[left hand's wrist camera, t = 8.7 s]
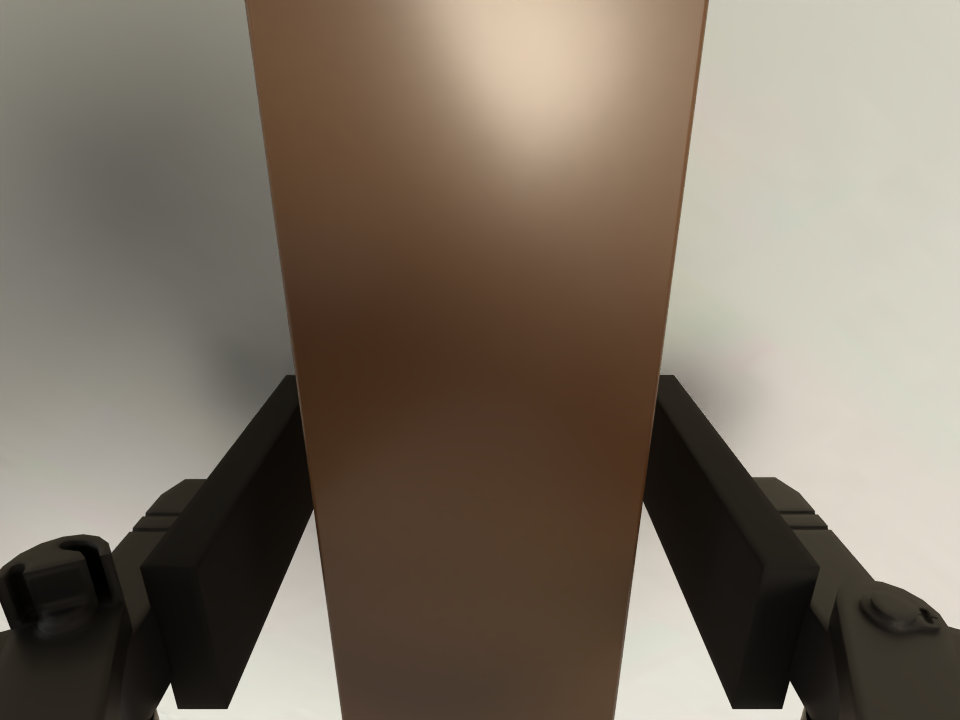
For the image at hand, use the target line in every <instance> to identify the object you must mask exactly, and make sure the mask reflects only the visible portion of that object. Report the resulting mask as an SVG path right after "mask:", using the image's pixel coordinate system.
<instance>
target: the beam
mask: <svg viewBox="0 0 960 720" xmlns="http://www.w3.org/2000/svg"><path fill="white" fill-rule="evenodd" d="M708 3H709V0H245V6H246V13H247V20H248V28H249V35H250V42H251V50H252V57H253V65H254V72H255V79H256V87H257V94H258V101H259V109H260V116H261V124H262V131H263V138H264V146H265V153H266V160H267V168H268V175H269V183H270V190H271V197H272V205H273V212H274V219H275V227H276V234H277V242H278V249H279V256H280V264H281V271H282V278H283V286H284V293H285V301H286V308H287V315H288V323H289V330H290V337H291V345H292V352H293V360H294V367H295V374H296V382H297V389H298V396H299V404H300V411H301V419H302V426H303V433H304V441H305V448H306V455H307V463H308V470H309V478H310V485H311V492H312V500H313V507H314V514H315V522H316V529H317V537H318V544H319V551H320V559H321V566H322V573H323V581H324V588H325V596H326V603H327V610H328V618H329V625H330V632H331V640H332V647H333V655H334V662H335V669H336V677H337V684H338V691H339V699H340V706H341V714H342V720H614V716H615V709H616V701H617V693H618V686H619V678H620V671H621V663H622V656H623V648H624V640H625V633H626V625H627V618H628V610H629V602H630V595H631V587H632V580H633V572H634V565H635V557H636V549H637V542H638V534H639V527H640V519H641V512H642V504H643V496H644V489H645V481H646V474H647V466H648V458H649V451H650V443H651V436H652V428H653V421H654V413H655V405H656V398H657V390H658V383H659V375H660V367H661V360H662V352H663V345H664V337H665V330H666V322H667V314H668V307H669V299H670V292H671V284H672V276H673V269H674V261H675V254H676V246H677V239H678V231H679V223H680V216H681V208H682V201H683V193H684V185H685V178H686V170H687V163H688V155H689V148H690V140H691V132H692V125H693V117H694V110H695V102H696V94H697V87H698V79H699V72H700V64H701V57H702V49H703V41H704V34H705V26H706V19H707V11H708Z"/></svg>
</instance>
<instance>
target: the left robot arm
mask: <svg viewBox="0 0 960 720" xmlns="http://www.w3.org/2000/svg"><path fill="white" fill-rule="evenodd" d="M643 502H644V504H645V507H646V509H647V511H648V514H649V516H650V518H651V521H652V523H653V525H654V528H655V530H656V532H657V534H658V537H659V539H660V541H661V544H662V546H663V548H664V551H665V553H666V555H667V558H668V560H669V562H670V565H671V567H672V569H673V572H674V574H675V576H676V579H677V581H678V583H679V586H680V588H681V590H682V593H683V595H684V597H685V600H686V602H687V604H688V607H689V609H690V611H691V613H692V616H693V618H694V620H695V623H696V625H697V627H698V630H699V632H700V634H701V637H702V639H703V641H704V644H705V646H706V648H707V651H708V653H709V655H710V658H711V660H712V662H713V665H714V667H715V669H716V672H717V674H718V676H719V679H720V681H721V683H722V686H723V688H724V690H725V692H726V695H727V697H728V699H729V702H730V704H731V706H732V709H782V708H783V704H784V700H785V696H786V693H787V689H788V685H789V682H791V683H792V685H793V687H794V689H795V691H796V692H797V694H798V696H799V698H800V700H801V701H802V703H803V705H804V710H803V713H802V716H801V720H960V630H959V629H955V628H952V627H948V626H947V624H946V623H945V621H944V620H943V618H942V617H941V615H940V614H939V613H938V612H937V611H935V610H934V609H933V608H932V607H931V606H929V605H928V604H927V603H926V602H925V601H923V600H922V599H920V598H918V597H916V596H915V595H913V594H911V593H909V592H907V591H906V590H904V589H901V588H898V587H895V586H892V585H890V584H887V583H884V582H879V581H875V580H874V579H873V578H872V577H871V576H870V575H869V573H868V572H867V571H866V570H865V569H864V568H863V566H862V565H861V564H860V563H859V562H858V561H857V559H856V558H855V557H854V556H853V555H852V554H851V552H850V551H849V550H848V549H847V548H846V547H845V545H844V544H843V543H842V542H841V541H840V540H839V539H838V537H837V536H836V535H835V534H834V533H833V532H832V530H828V526H827V525H826V523H825V522H824V521H823V520H822V519H821V518H820V516H819V515H815V511H814V509H813V508H812V507H811V506H810V505H809V504H808V503H807V501H806V500H805V499H804V498H803V497H802V496H801V494H800V493H799V492H797V491H796V490H794V489H792V488H791V487H789V486H788V485H786V484H785V483H783V482H782V481H780V480H778V479H777V478H775V477H751V476H750V474H749V473H748V472H747V470H746V469H745V468H744V466H743V465H742V464H741V463H740V461H739V460H738V459H737V457H736V456H735V455H734V453H733V452H732V451H731V449H730V448H729V447H728V446H727V444H726V443H725V442H724V440H723V439H722V438H721V436H720V435H719V434H718V432H717V431H716V430H715V429H714V427H713V426H712V425H711V423H710V422H709V421H708V419H707V418H706V417H705V415H704V414H703V413H702V412H701V410H700V409H699V408H698V406H697V405H696V404H695V402H694V401H693V400H692V398H691V397H690V396H689V395H688V393H687V392H686V391H685V389H684V388H683V387H682V385H681V384H680V383H679V381H678V380H677V379H676V378H675V376H674V375H659V383H658V390H657V398H656V405H655V413H654V421H653V428H652V436H651V443H650V451H649V458H648V466H647V474H646V481H645V489H644V496H643ZM313 509H314V507H313V500H312V492H311V485H310V478H309V470H308V463H307V455H306V448H305V441H304V433H303V426H302V419H301V411H300V404H299V396H298V389H297V382H296V375H286V376H285V378H284V379H283V380H282V381H281V383H280V384H279V385H278V387H277V388H276V389H275V391H274V392H273V393H272V395H271V396H270V397H269V398H268V400H267V401H266V402H265V404H264V405H263V406H262V408H261V409H260V410H259V412H258V413H257V414H256V415H255V417H254V418H253V419H252V421H251V422H250V423H249V425H248V426H247V427H246V429H245V430H244V431H243V432H242V434H241V435H240V436H239V438H238V439H237V440H236V442H235V443H234V444H233V446H232V447H231V448H230V449H229V451H228V452H227V453H226V455H225V456H224V457H223V459H222V460H221V461H220V463H219V464H218V465H217V466H216V468H215V469H214V470H213V472H212V473H211V474H210V476H209V477H208V478H207V479H185V480H183V481H182V482H180V483H179V484H177V485H175V486H174V487H172V488H171V489H169V490H168V491H166V492H165V493H163V494H162V495H161V496H160V497H159V498H158V499H157V500H156V501H155V503H154V504H153V505H152V506H151V507H150V508H149V510H148V511H147V512H146V516H145V517H142V518H141V519H140V520H139V521H138V523H137V524H136V525H135V526H134V527H133V531H132V532H129V533H128V534H127V535H126V537H125V538H124V539H123V540H122V541H121V542H120V544H119V545H118V546H117V547H116V548H115V549H114V551H113V552H112V553H111V550H110V547H109V543H107V542H106V541H105V540H103V539H102V538H100V537H99V536H92V535H85V534H82V535H73V536H65V537H61V538H57V539H54V540H51V541H48V542H44V543H41V544H39V545H37V546H35V547H33V548H31V549H29V550H27V551H25V552H23V553H21V554H19V555H18V556H16V557H15V558H14V559H12V560H11V561H10V562H8V563H7V564H6V565H4V566H3V567H2V568H1V569H0V603H1V605H2V608H3V610H4V613H5V616H6V618H7V621H8V623H9V626H10V628H11V629H10V630H7V631H3V632H0V720H159V716H158V713H157V710H156V708H157V706H158V704H159V703H160V701H161V699H162V697H163V695H164V694H165V692H166V690H167V688H168V686H169V685H170V683H171V685H172V689H173V693H174V696H175V700H176V704H177V708H178V709H228V706H229V704H230V702H231V699H232V697H233V695H234V693H235V690H236V688H237V686H238V683H239V681H240V679H241V676H242V674H243V672H244V669H245V667H246V665H247V662H248V660H249V658H250V655H251V653H252V651H253V648H254V646H255V644H256V641H257V639H258V637H259V634H260V632H261V630H262V627H263V625H264V623H265V620H266V618H267V616H268V614H269V611H270V609H271V607H272V604H273V602H274V600H275V597H276V595H277V593H278V590H279V588H280V586H281V583H282V581H283V579H284V576H285V574H286V572H287V569H288V567H289V565H290V562H291V560H292V558H293V555H294V553H295V551H296V548H297V546H298V544H299V541H300V539H301V537H302V534H303V532H304V530H305V528H306V525H307V523H308V521H309V518H310V516H311V514H312V511H313Z"/></svg>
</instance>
